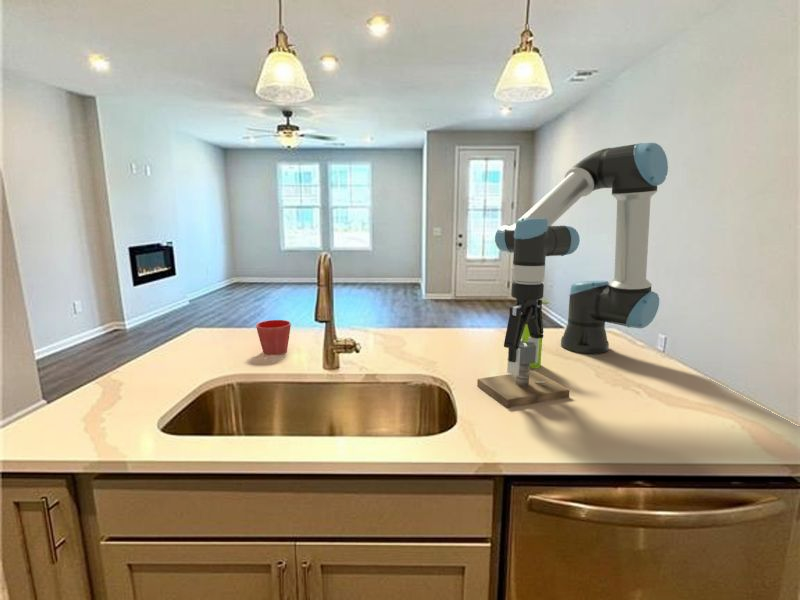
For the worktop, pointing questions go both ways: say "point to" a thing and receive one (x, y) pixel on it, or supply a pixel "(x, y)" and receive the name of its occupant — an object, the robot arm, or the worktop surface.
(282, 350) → the flower pot
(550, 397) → the wooden board with bolt
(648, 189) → the robot arm
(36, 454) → the worktop surface
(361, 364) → the worktop surface
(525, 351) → the knob
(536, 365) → the soap dispenser
